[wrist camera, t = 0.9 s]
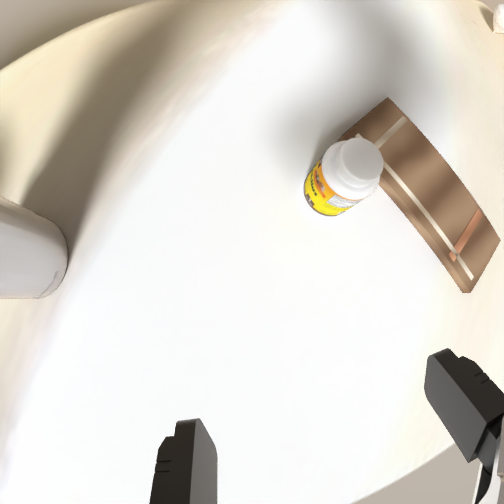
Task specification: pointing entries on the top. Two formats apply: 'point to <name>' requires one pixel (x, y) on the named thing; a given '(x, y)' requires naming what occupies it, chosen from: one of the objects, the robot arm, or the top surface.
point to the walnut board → (429, 194)
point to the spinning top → (498, 19)
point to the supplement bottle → (343, 176)
